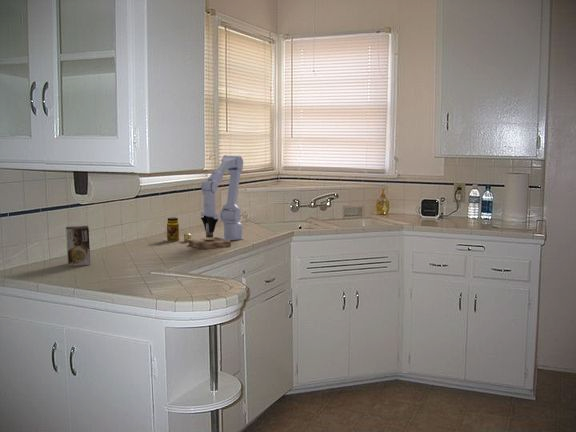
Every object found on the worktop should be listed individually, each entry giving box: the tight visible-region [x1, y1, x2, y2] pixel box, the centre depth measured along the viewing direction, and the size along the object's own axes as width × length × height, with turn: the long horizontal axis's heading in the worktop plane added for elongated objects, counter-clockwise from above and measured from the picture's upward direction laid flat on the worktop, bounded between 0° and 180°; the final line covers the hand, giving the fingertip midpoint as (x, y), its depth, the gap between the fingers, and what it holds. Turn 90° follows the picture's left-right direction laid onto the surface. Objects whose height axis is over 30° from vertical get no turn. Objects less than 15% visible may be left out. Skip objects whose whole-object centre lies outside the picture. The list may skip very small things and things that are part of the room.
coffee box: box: [65, 225, 91, 267], centre depth 275 cm, size 9×6×16 cm
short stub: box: [183, 233, 192, 243], centre depth 332 cm, size 4×4×4 cm
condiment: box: [163, 216, 182, 243], centre depth 334 cm, size 7×8×12 cm
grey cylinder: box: [205, 223, 214, 238], centre depth 321 cm, size 4×4×7 cm
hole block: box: [188, 236, 232, 250], centre depth 322 cm, size 16×14×2 cm
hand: (209, 231), depth 321 cm, fingers closed on grey cylinder, 4 cm apart
